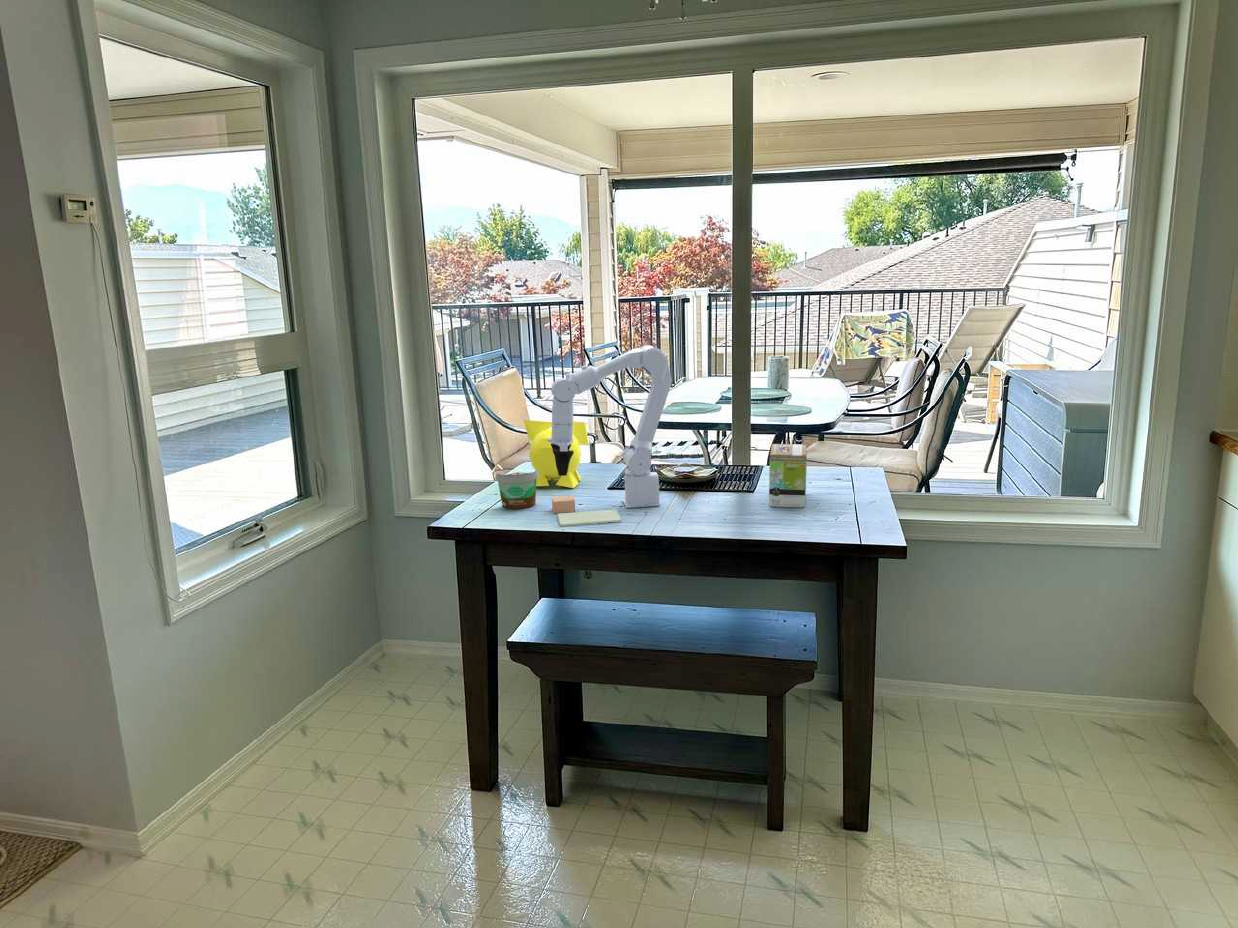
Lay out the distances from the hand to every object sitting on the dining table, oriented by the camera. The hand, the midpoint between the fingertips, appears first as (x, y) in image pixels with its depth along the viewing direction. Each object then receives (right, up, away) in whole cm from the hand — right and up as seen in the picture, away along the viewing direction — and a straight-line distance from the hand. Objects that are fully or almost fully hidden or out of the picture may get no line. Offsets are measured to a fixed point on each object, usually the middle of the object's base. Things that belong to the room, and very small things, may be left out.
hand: (561, 472), depth 240 cm
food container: (-12, -10, +7) cm, 17 cm away
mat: (+8, -12, -7) cm, 16 cm away
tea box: (+63, -8, +4) cm, 63 cm away
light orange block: (0, -11, +2) cm, 11 cm away
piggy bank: (-4, -4, +33) cm, 34 cm away
